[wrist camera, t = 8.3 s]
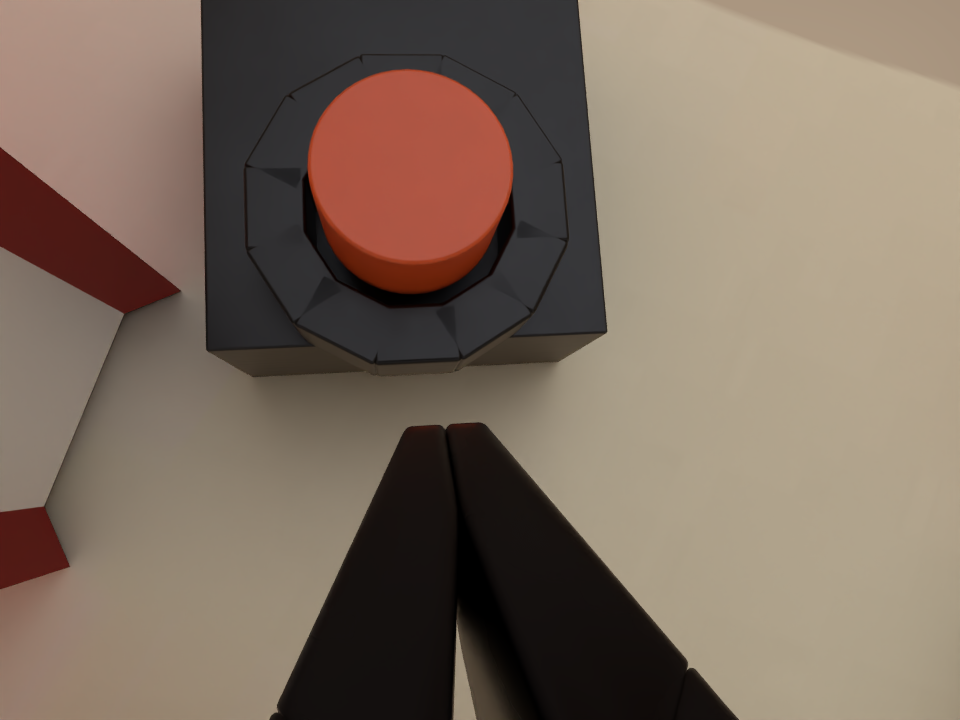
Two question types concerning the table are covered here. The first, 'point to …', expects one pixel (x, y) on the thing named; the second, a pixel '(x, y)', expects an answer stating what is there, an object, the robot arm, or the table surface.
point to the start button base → (294, 217)
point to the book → (51, 349)
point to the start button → (409, 179)
